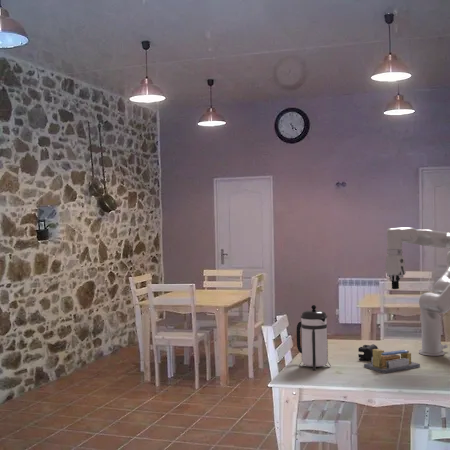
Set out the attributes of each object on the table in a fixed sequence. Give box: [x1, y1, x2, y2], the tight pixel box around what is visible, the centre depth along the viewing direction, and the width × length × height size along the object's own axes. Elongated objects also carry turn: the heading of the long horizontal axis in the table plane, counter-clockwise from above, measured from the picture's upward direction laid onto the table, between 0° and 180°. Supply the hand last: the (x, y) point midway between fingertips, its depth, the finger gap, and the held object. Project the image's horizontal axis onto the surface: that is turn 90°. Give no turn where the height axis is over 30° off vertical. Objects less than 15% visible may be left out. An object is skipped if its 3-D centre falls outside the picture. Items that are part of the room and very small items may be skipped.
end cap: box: [358, 344, 379, 362], centre depth 315 cm, size 10×7×7 cm
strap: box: [381, 349, 410, 356], centre depth 297 cm, size 16×3×1 cm, turn 117°
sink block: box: [363, 348, 421, 374], centre depth 297 cm, size 22×14×9 cm, turn 117°
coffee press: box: [296, 304, 331, 371], centre depth 301 cm, size 17×16×30 cm
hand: (395, 288), depth 315 cm, fingers closed
